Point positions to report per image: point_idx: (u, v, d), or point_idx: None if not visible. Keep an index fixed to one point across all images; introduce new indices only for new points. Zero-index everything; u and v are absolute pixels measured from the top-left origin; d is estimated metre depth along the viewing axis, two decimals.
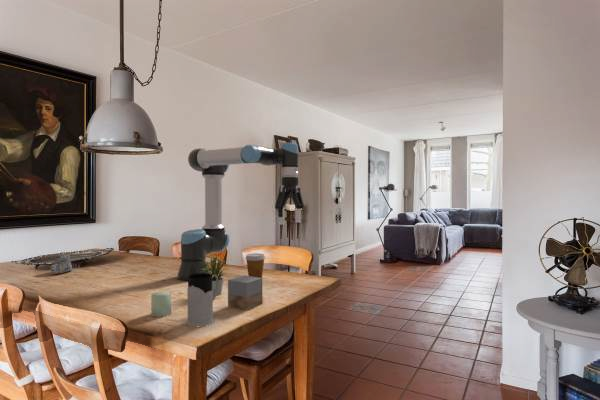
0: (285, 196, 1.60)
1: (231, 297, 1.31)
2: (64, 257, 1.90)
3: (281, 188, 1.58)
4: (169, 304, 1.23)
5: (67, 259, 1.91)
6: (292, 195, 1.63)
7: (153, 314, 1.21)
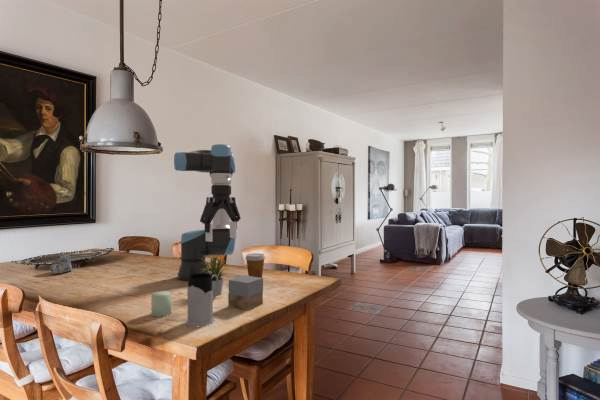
0: (214, 207, 1.35)
1: (231, 297, 1.31)
2: (64, 257, 1.90)
3: (208, 198, 1.33)
4: (169, 304, 1.23)
5: (67, 259, 1.91)
6: (224, 206, 1.39)
7: (153, 314, 1.21)
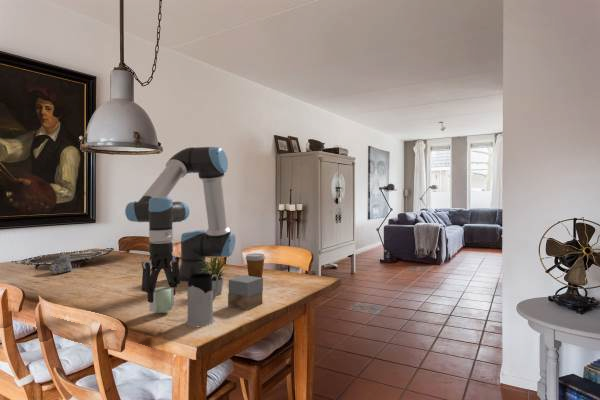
0: (154, 271, 1.21)
1: (231, 297, 1.31)
2: (63, 257, 1.90)
3: (143, 264, 1.18)
4: (169, 300, 1.23)
5: (66, 259, 1.91)
6: (164, 266, 1.23)
7: None
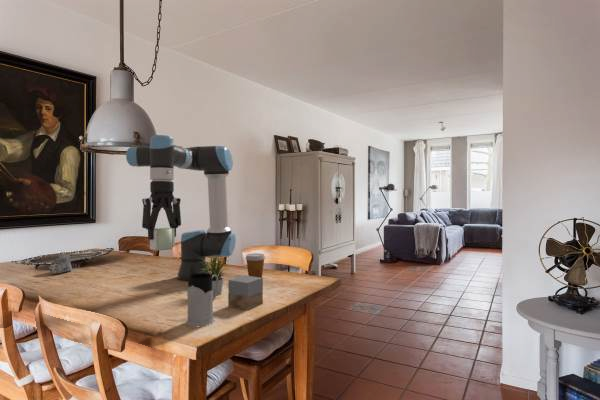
0: (154, 209, 1.21)
1: (231, 297, 1.31)
2: (63, 257, 1.90)
3: (144, 200, 1.18)
4: (170, 239, 1.23)
5: (66, 259, 1.91)
6: (165, 205, 1.23)
7: None
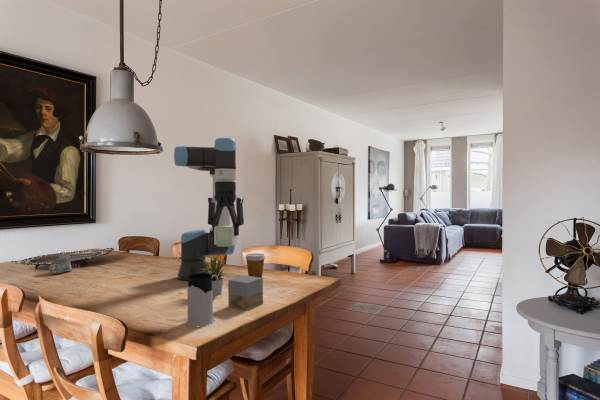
0: None
1: (232, 297, 1.31)
2: (63, 257, 1.90)
3: None
4: (223, 236, 1.28)
5: (66, 259, 1.91)
6: (224, 204, 1.29)
7: None
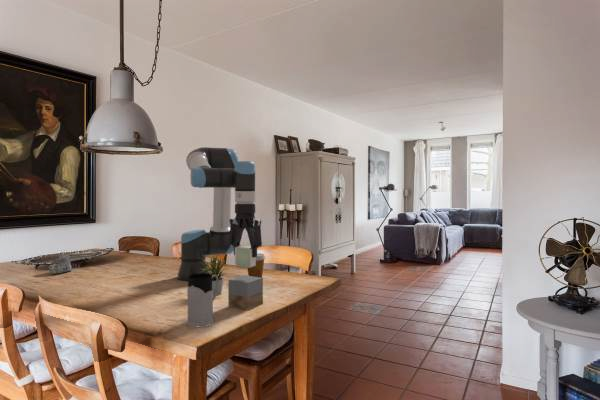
0: None
1: (232, 297, 1.31)
2: (63, 257, 1.90)
3: None
4: (241, 258, 1.30)
5: (66, 259, 1.91)
6: (244, 226, 1.32)
7: None
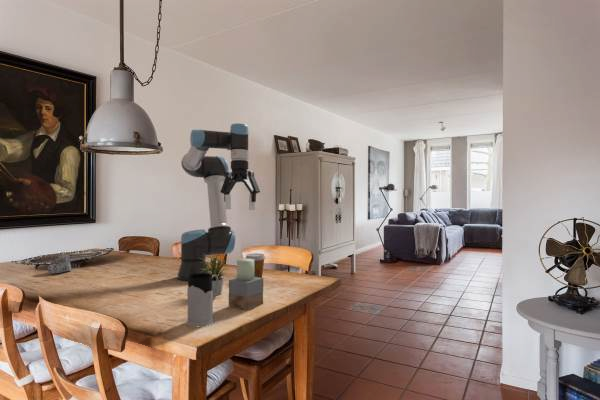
0: None
1: (232, 297, 1.31)
2: (62, 257, 1.90)
3: None
4: (241, 271, 1.31)
5: (65, 259, 1.91)
6: (238, 179, 1.53)
7: None
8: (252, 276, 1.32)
